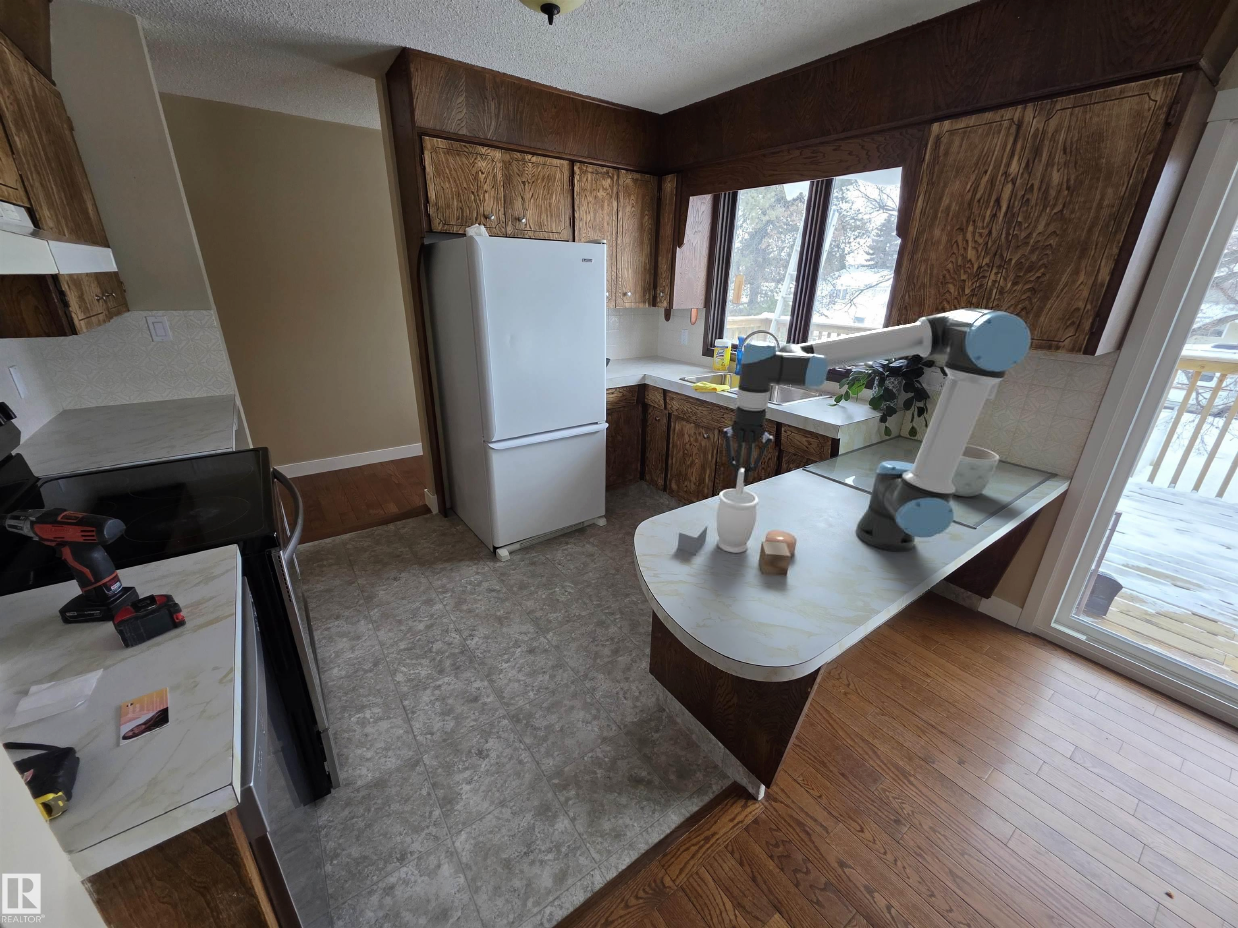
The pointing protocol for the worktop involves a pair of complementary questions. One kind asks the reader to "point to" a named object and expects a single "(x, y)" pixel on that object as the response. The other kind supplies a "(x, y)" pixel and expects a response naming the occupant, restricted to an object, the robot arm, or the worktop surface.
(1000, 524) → the worktop surface
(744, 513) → the jar
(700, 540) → the slate block
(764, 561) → the walnut block
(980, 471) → the planter
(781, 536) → the glossy peach dome
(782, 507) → the worktop surface
